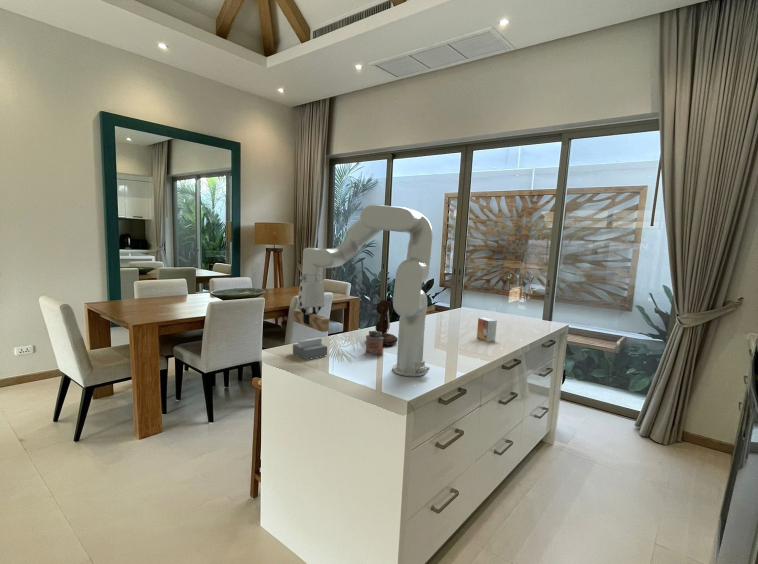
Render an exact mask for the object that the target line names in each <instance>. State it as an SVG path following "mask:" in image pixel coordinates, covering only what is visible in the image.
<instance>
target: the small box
mask: <svg viewBox="0 0 758 564" xmlns="http://www.w3.org/2000/svg"><path fill="white" fill-rule="evenodd" d="M497 322H498V321H497V320H495V319H492V318H488V317H478V320H477V330H476V332H477V333H476V338H477V337H478V338H477V339H480V340H482V339H483V341H485V342H494V340H495V341H496V333H497V324H498V323H497Z"/></svg>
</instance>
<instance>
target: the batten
mask: <svg viewBox="0 0 758 564" xmlns="http://www.w3.org/2000/svg"><path fill="white" fill-rule="evenodd" d="M303 315H304V314H303V313H302V312H301V311H300V310H299V309H297V308H294V309H292V322H295V323H297V324H300V325H302V326H305V327H308V328H309V329H313V330H316V331H318V332H322V333H325V332H329V331H330V318H329V317H326V316H323V315H320V314H314V313H312V312H310V311H309V313H308V315H309V324H308V325H307V324H305V323H304V321H303Z"/></svg>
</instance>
